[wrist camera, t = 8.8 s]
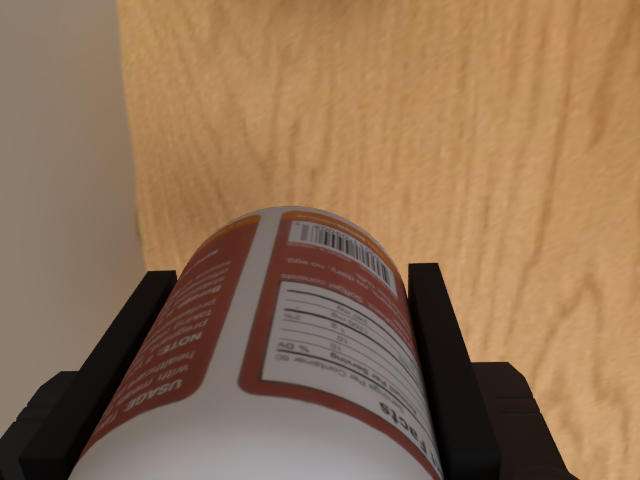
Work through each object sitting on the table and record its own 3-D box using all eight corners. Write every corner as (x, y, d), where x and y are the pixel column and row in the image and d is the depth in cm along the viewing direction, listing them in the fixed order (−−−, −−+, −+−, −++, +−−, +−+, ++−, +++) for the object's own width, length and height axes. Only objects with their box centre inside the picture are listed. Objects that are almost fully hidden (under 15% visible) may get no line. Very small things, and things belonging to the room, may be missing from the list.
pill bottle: (214, 400, 17) (18, 1006, 7) (157, 215, 14) (-279, 745, 4) (418, 380, 16) (531, 1020, 6) (395, 182, 14) (524, 718, 4)
